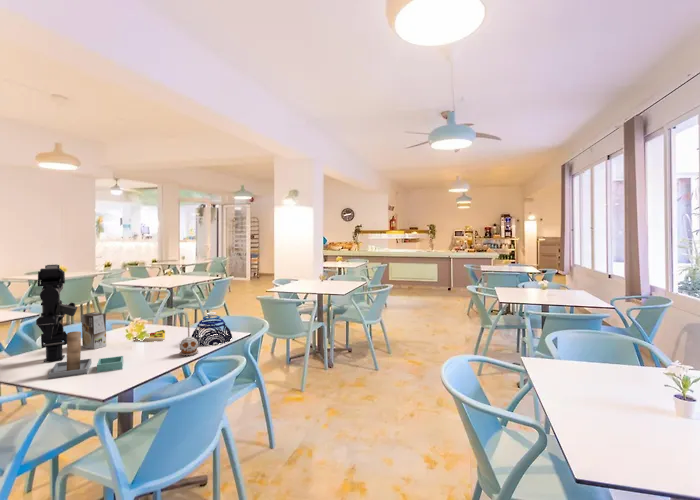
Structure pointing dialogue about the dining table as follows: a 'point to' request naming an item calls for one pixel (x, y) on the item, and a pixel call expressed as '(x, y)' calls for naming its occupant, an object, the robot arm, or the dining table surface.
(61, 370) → the tray
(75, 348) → the brown tall rounded cylinder
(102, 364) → the teal square frame
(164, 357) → the dining table surface
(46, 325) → the robot arm
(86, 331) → the coffee box
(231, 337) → the decorative bowl
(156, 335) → the pizza slice
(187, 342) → the decorative ornament
